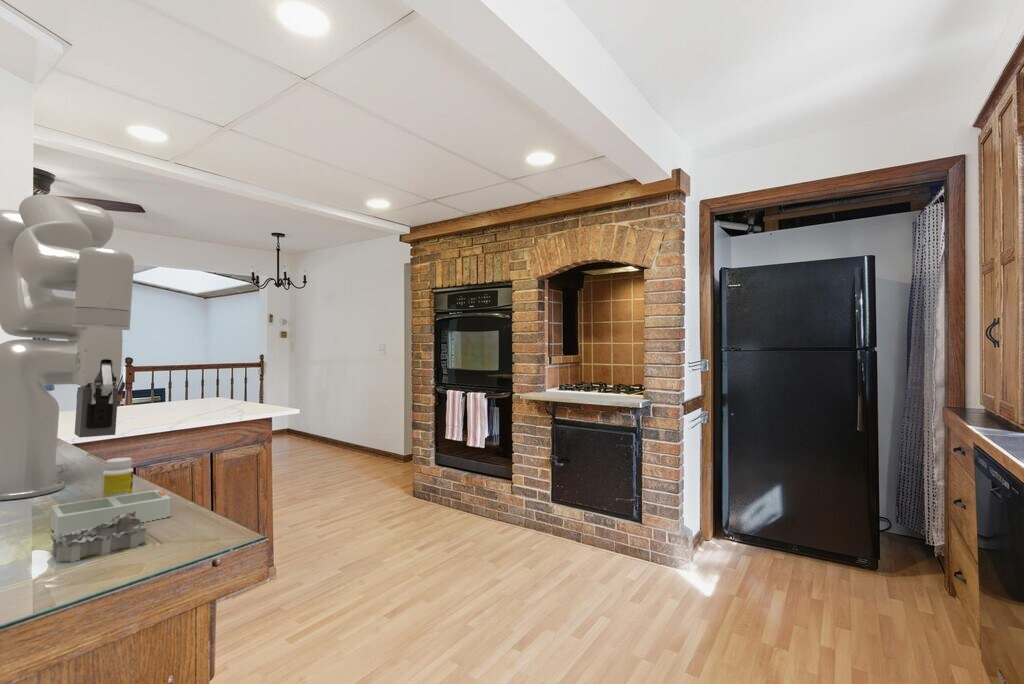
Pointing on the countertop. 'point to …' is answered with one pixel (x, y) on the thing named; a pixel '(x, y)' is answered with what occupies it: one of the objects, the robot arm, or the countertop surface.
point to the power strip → (108, 510)
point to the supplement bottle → (117, 477)
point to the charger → (81, 414)
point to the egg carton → (100, 538)
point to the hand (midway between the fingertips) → (95, 425)
